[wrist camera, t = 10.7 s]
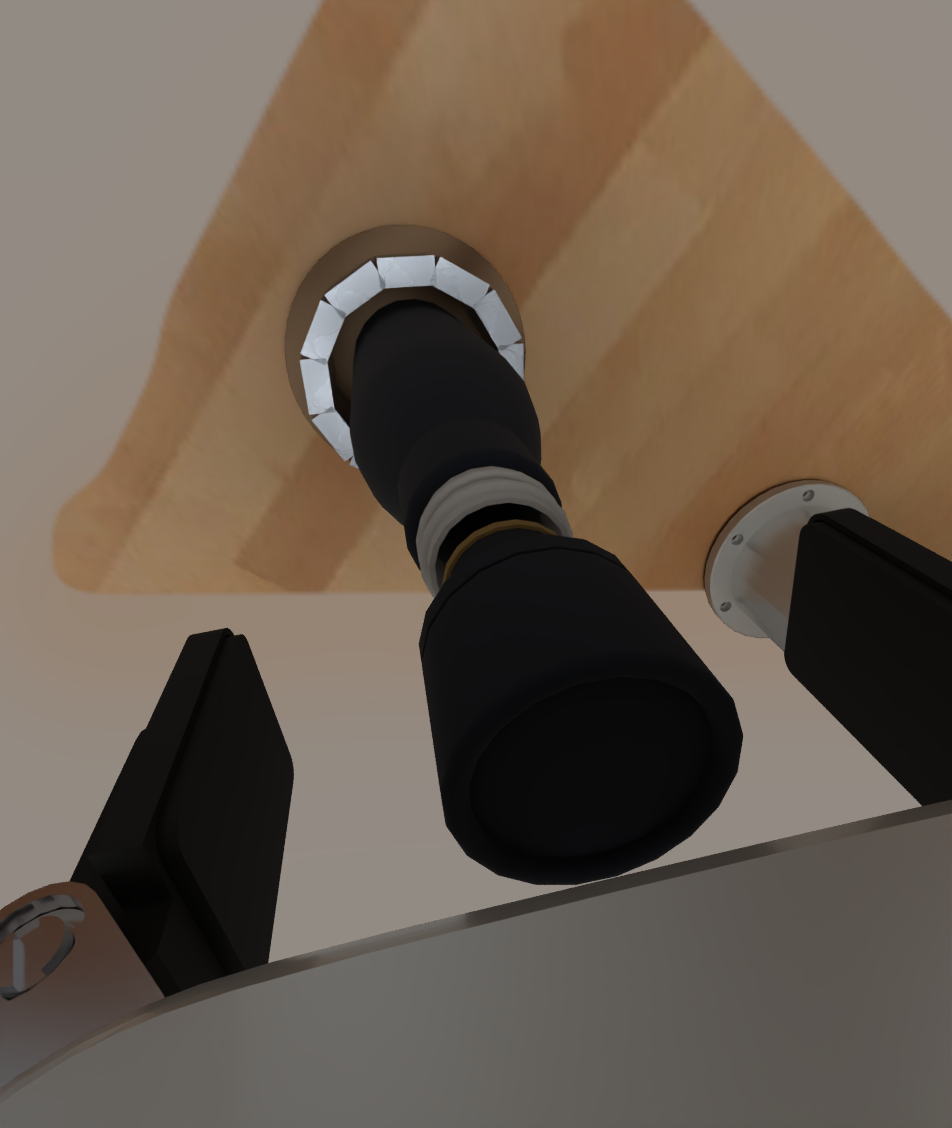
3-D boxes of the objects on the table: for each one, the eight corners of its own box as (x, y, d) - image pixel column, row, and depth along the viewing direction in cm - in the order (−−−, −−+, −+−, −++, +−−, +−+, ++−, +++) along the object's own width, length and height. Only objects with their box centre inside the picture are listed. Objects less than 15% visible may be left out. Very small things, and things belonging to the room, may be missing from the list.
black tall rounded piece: (475, 302, 33) (929, 547, 7) (467, 422, 36) (763, 922, 10) (352, 294, 32) (315, 553, 6) (354, 418, 35) (338, 975, 8)
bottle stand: (559, 301, 35) (598, 312, 29) (457, 498, 39) (474, 541, 34) (341, 172, 31) (337, 157, 25) (254, 411, 35) (234, 445, 29)
